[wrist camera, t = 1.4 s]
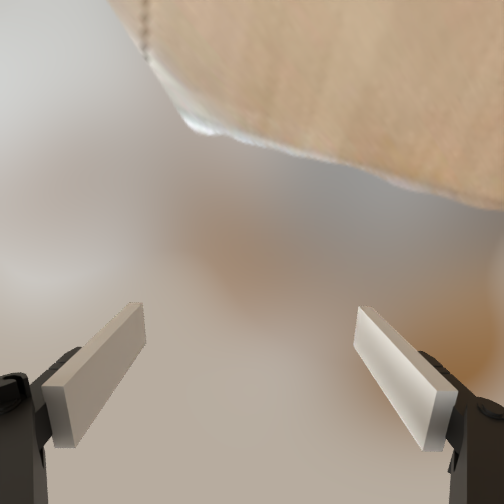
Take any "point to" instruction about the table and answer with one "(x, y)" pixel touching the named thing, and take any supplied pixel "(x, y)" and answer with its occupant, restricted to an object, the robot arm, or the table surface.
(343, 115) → the table surface
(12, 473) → the robot arm
